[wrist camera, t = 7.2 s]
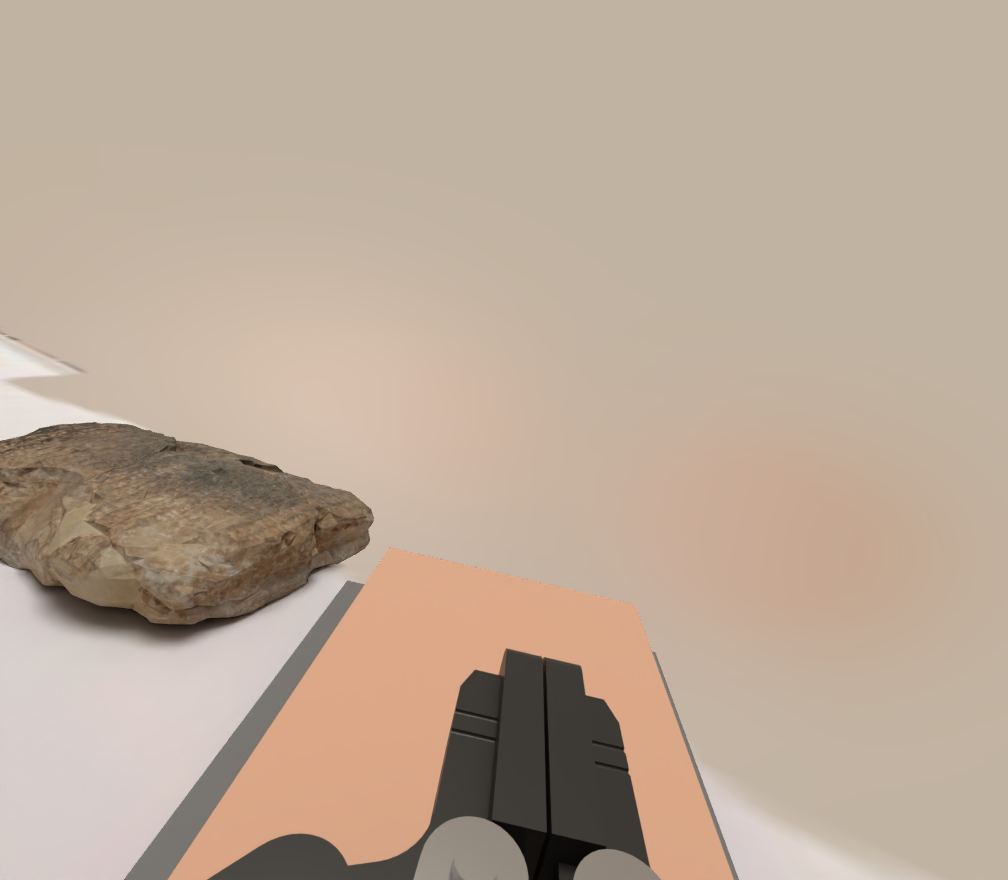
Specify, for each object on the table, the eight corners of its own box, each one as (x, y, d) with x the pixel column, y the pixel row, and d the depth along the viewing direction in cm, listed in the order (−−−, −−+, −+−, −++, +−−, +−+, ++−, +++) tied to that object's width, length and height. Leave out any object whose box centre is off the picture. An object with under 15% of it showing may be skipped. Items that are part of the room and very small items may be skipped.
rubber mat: (-142, 1264, 7) (-145, 1240, 7) (345, 590, 26) (347, 580, 26) (956, 1543, 7) (976, 1524, 7) (651, 662, 26) (655, 652, 25)
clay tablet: (-133, 509, 24) (157, 677, 18) (-137, 411, 23) (167, 553, 17) (155, 463, 37) (380, 552, 31) (160, 399, 37) (393, 477, 30)
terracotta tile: (163, 885, 9) (389, 547, 24) (154, 990, 10) (380, 598, 25) (790, 1037, 9) (635, 604, 24) (742, 1134, 10) (619, 654, 25)
